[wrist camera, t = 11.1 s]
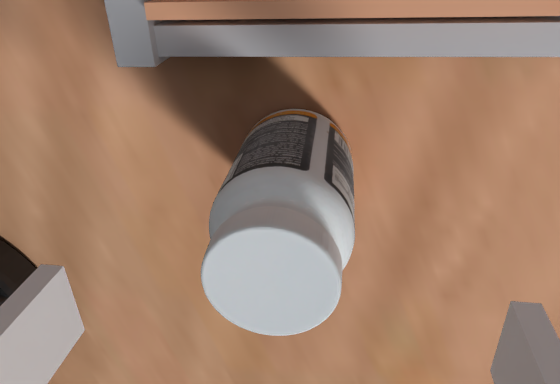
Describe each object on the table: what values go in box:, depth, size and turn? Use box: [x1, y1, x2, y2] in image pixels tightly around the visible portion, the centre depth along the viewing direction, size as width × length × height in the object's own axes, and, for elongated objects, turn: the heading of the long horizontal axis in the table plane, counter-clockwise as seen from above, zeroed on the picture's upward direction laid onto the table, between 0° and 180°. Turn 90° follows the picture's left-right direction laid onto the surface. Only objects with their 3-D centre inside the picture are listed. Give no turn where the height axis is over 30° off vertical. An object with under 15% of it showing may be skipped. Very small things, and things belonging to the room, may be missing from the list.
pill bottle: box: [201, 109, 355, 336], centre depth 19 cm, size 6×6×10 cm
